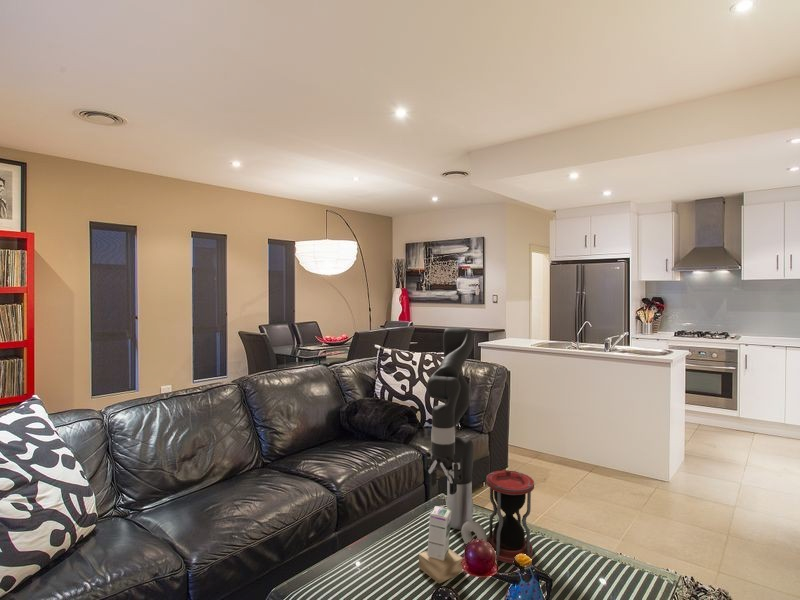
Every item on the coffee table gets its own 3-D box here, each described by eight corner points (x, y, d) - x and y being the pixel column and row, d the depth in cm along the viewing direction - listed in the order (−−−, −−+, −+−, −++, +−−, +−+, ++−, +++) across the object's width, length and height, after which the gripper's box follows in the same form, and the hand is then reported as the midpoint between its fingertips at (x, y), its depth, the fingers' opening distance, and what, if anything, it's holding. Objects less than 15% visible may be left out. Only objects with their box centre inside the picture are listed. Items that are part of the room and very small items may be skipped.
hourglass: (541, 549, 166) (542, 478, 165) (518, 570, 154) (520, 494, 153) (500, 532, 177) (501, 466, 176) (476, 550, 165) (477, 479, 164)
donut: (459, 546, 168) (459, 518, 168) (464, 542, 171) (465, 514, 170) (483, 557, 161) (483, 528, 161) (488, 553, 164) (489, 524, 163)
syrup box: (444, 561, 151) (448, 517, 150) (426, 556, 153) (430, 513, 152) (448, 551, 156) (452, 509, 155) (431, 546, 158) (434, 504, 157)
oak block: (441, 558, 161) (442, 543, 161) (462, 573, 153) (462, 558, 153) (418, 568, 155) (418, 553, 155) (439, 584, 147) (439, 569, 147)
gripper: (468, 442, 149) (467, 493, 150) (435, 430, 159) (435, 478, 160) (451, 448, 144) (451, 500, 145) (419, 435, 154) (418, 485, 155)
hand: (442, 489), depth 152 cm, fingers open, 8 cm apart
